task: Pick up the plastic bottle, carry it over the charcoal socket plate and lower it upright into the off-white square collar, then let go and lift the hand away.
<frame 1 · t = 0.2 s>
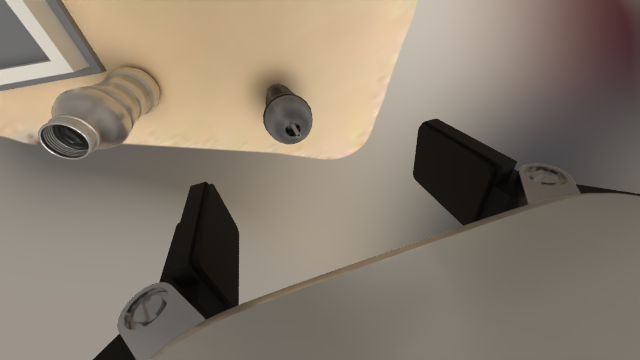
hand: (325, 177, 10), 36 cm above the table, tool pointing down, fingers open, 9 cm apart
plastic bottle: (140, 86, 37), on the table
socket: (8, 22, 29), on the table
beverage cup: (278, 96, 44), on the table
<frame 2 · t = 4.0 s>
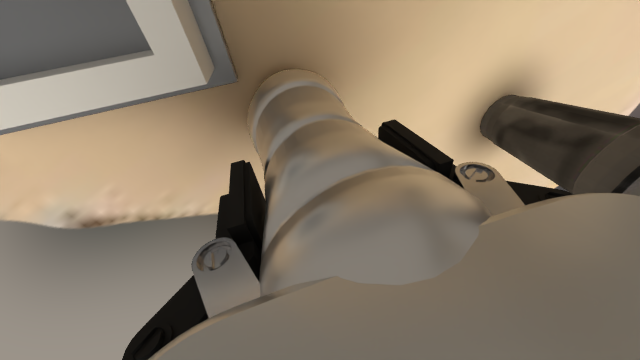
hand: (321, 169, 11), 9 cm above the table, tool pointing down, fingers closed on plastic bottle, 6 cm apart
plastic bottle: (290, 109, 18), on the table, touching gripper
beverage cup: (498, 116, 24), on the table
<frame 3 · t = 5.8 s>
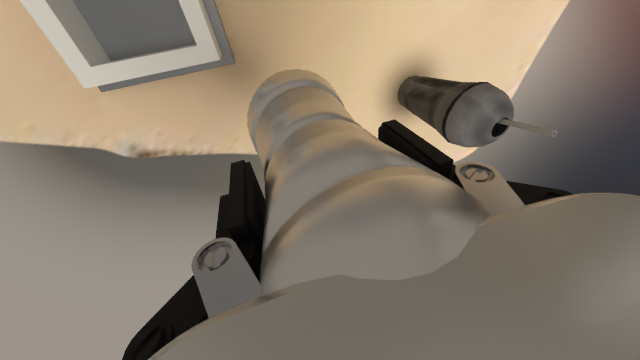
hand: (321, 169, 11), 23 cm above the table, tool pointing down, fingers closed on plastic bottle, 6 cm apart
plastic bottle: (290, 109, 18), point 14 cm above the table, touching gripper
beverage cup: (410, 91, 36), on the table
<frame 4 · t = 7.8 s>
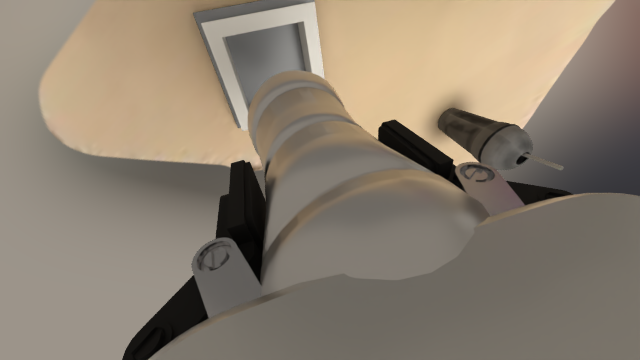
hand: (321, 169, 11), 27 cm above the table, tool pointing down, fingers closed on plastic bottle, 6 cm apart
plastic bottle: (290, 110, 18), point 18 cm above the table, touching gripper
socket: (270, 65, 32), on the table
beverage cup: (447, 119, 46), on the table
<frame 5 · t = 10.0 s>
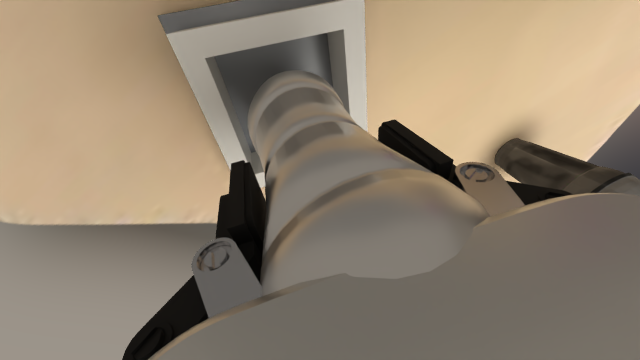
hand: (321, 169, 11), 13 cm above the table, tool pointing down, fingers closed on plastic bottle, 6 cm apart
plastic bottle: (290, 110, 18), point 5 cm above the table, touching gripper
socket: (282, 92, 22), on the table
beverage cup: (507, 151, 35), on the table
when the fingers open (11 cm above the table, at t = 11.7 s): plastic bottle drops 1 cm, resting on socket.
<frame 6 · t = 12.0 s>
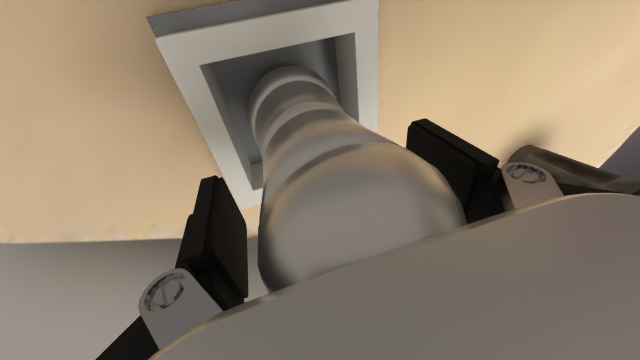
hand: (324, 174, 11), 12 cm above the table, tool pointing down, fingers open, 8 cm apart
plastic bottle: (287, 103, 19), point 1 cm above the table, touching socket
socket: (285, 100, 20), on the table
beverage cup: (518, 158, 34), on the table
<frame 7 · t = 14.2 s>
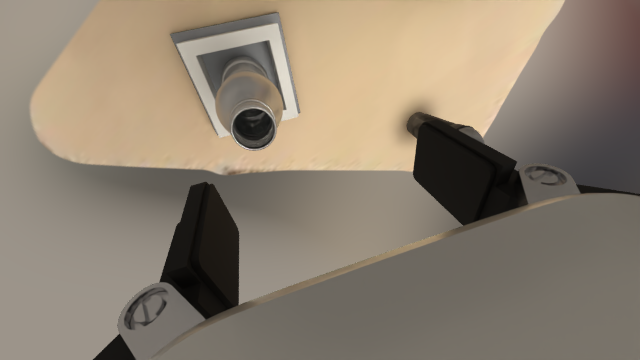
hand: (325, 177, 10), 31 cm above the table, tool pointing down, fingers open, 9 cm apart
plastic bottle: (245, 79, 34), point 1 cm above the table, touching socket
socket: (244, 77, 35), on the table
beverage cup: (415, 122, 49), on the table
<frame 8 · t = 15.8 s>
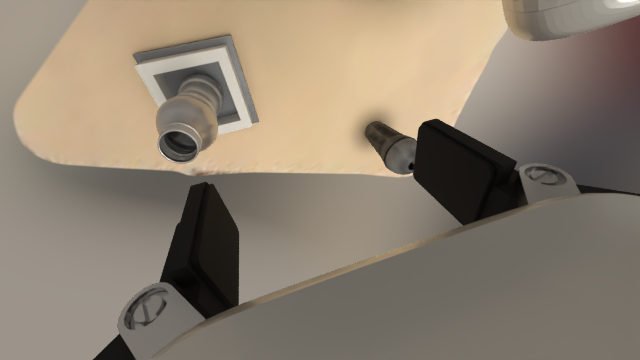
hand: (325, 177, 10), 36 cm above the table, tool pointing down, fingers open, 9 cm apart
plastic bottle: (204, 92, 39), point 1 cm above the table, touching socket
socket: (205, 90, 39), on the table
beverage cup: (373, 130, 53), on the table
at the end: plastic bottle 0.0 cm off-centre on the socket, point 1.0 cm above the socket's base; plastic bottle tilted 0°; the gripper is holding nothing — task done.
